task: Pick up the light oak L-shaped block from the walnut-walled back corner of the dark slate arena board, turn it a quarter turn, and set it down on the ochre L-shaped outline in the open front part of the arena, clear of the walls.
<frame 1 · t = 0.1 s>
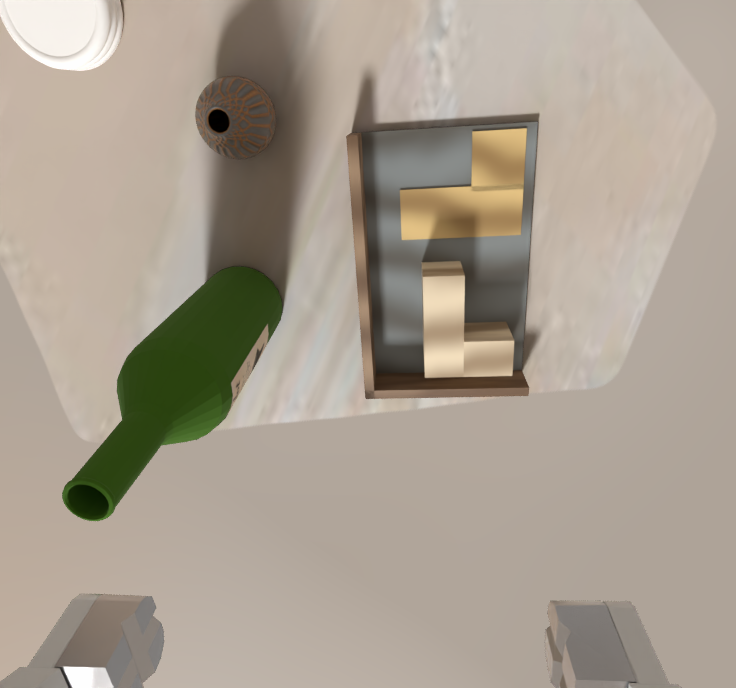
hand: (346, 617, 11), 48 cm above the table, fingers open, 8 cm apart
wine bottle: (244, 302, 60), on the table
oak L block: (441, 315, 59), point 1 cm above the table, touching arena
vase: (247, 117, 52), on the table
arena: (442, 264, 57), on the table
coaster: (73, 10, 50), on the table
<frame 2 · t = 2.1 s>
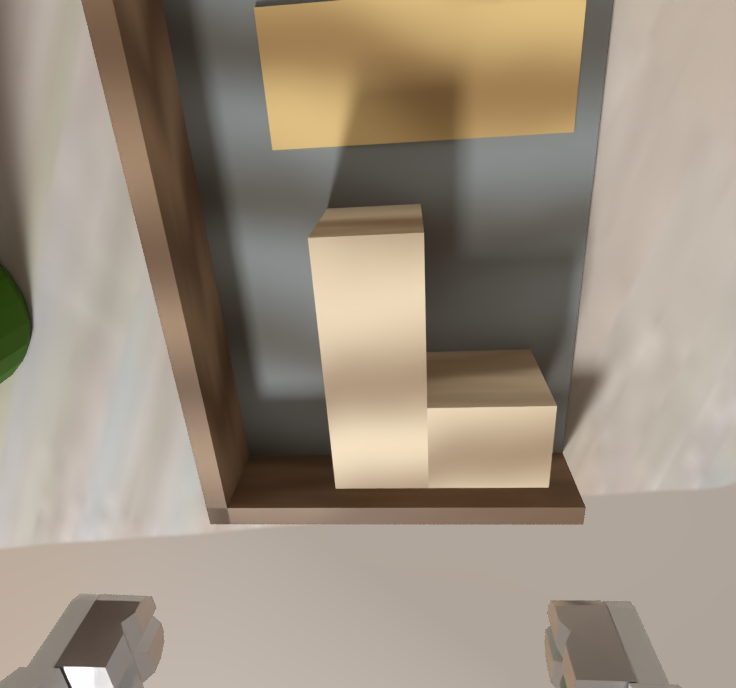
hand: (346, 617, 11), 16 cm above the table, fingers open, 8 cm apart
oak L block: (380, 334, 25), point 1 cm above the table, touching arena
arena: (380, 214, 24), on the table
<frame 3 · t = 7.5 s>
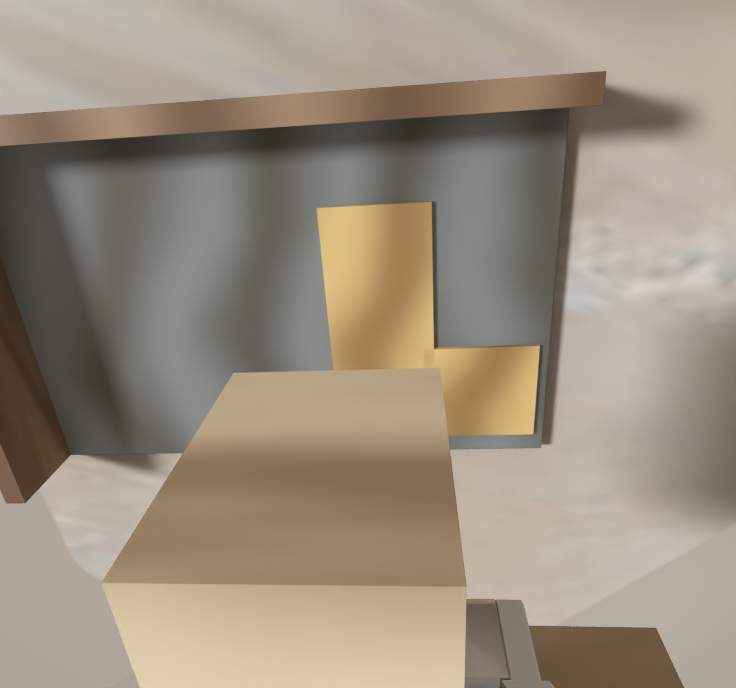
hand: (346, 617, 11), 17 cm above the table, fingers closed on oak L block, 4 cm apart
oak L block: (356, 593, 13), point 15 cm above the table, touching gripper
arena: (267, 296, 26), on the table
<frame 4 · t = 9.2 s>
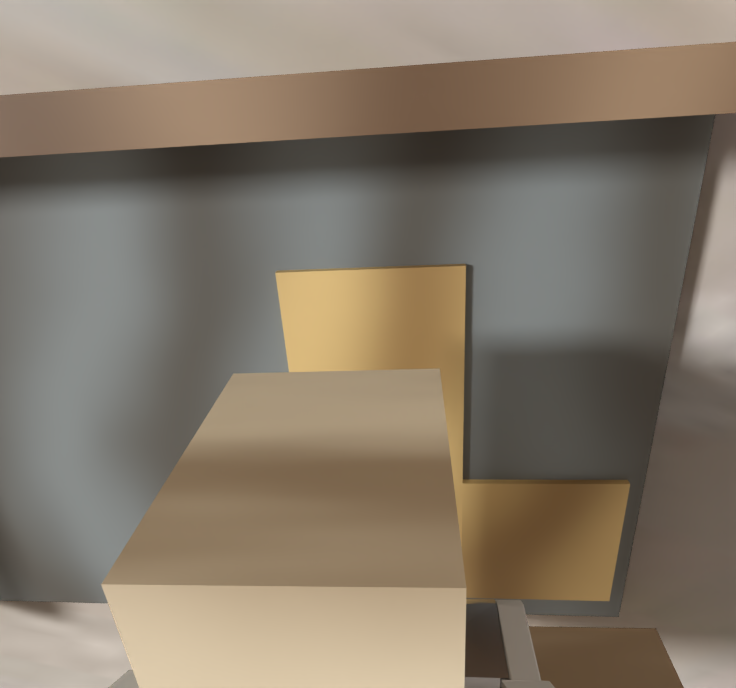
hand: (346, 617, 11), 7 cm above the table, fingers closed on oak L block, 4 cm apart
oak L block: (356, 594, 13), point 5 cm above the table, touching gripper
arena: (206, 397, 17), on the table
when the fingers open (4 cm above the table, at t = 10.6 s): oak L block drops 2 cm, resting on arena.
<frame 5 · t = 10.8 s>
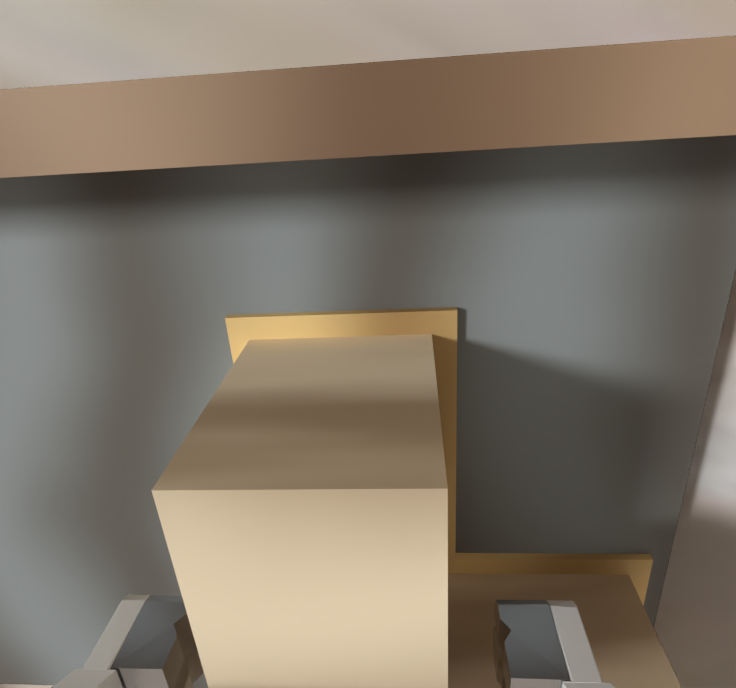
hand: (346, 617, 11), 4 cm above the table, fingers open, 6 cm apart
oak L block: (358, 544, 14), point 1 cm above the table, touching arena
arena: (152, 457, 14), on the table
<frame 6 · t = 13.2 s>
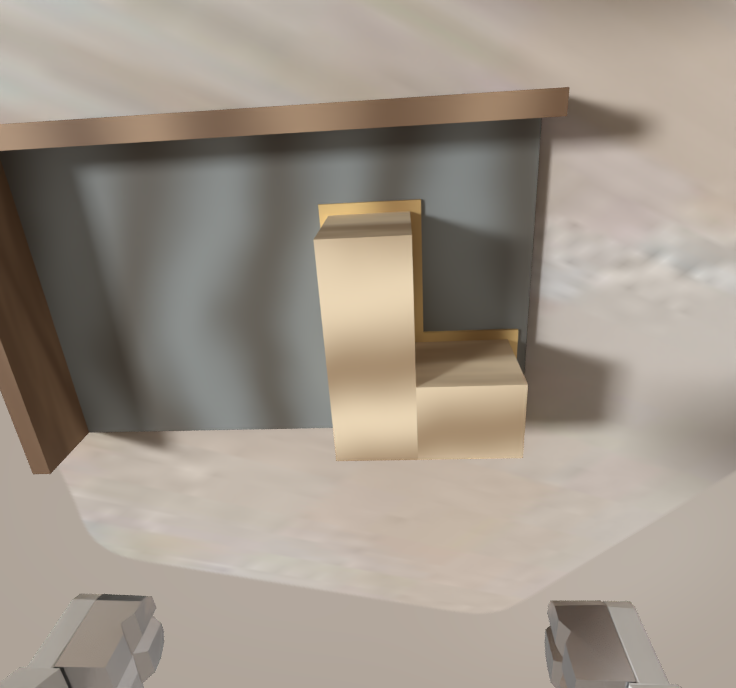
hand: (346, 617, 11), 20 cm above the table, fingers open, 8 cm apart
oak L block: (375, 326, 29), point 1 cm above the table, touching arena
arena: (272, 285, 29), on the table
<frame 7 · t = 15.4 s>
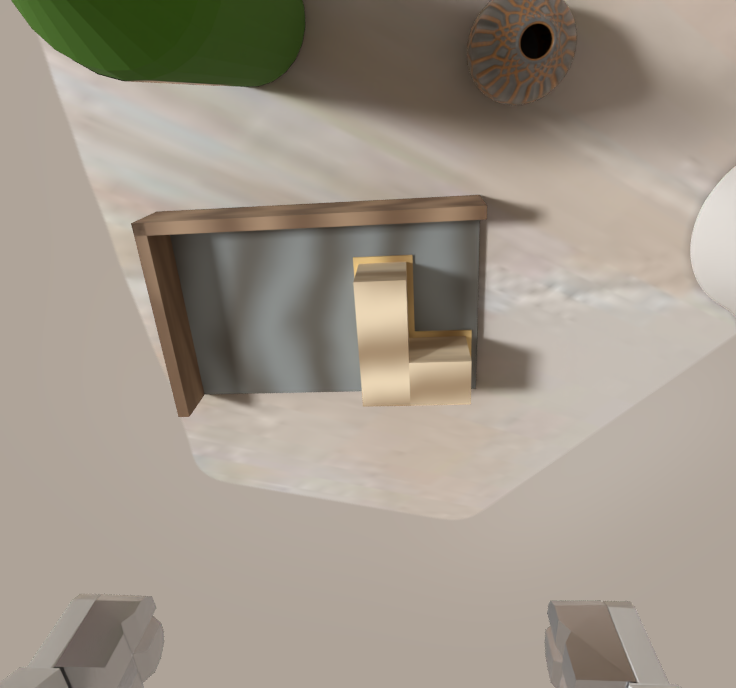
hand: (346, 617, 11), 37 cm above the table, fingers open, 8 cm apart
wine bottle: (246, 19, 39), on the table
oak L block: (385, 328, 48), point 1 cm above the table, touching arena
vase: (510, 52, 39), on the table
arena: (323, 303, 48), on the table
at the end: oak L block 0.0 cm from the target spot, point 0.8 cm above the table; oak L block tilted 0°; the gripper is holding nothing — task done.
